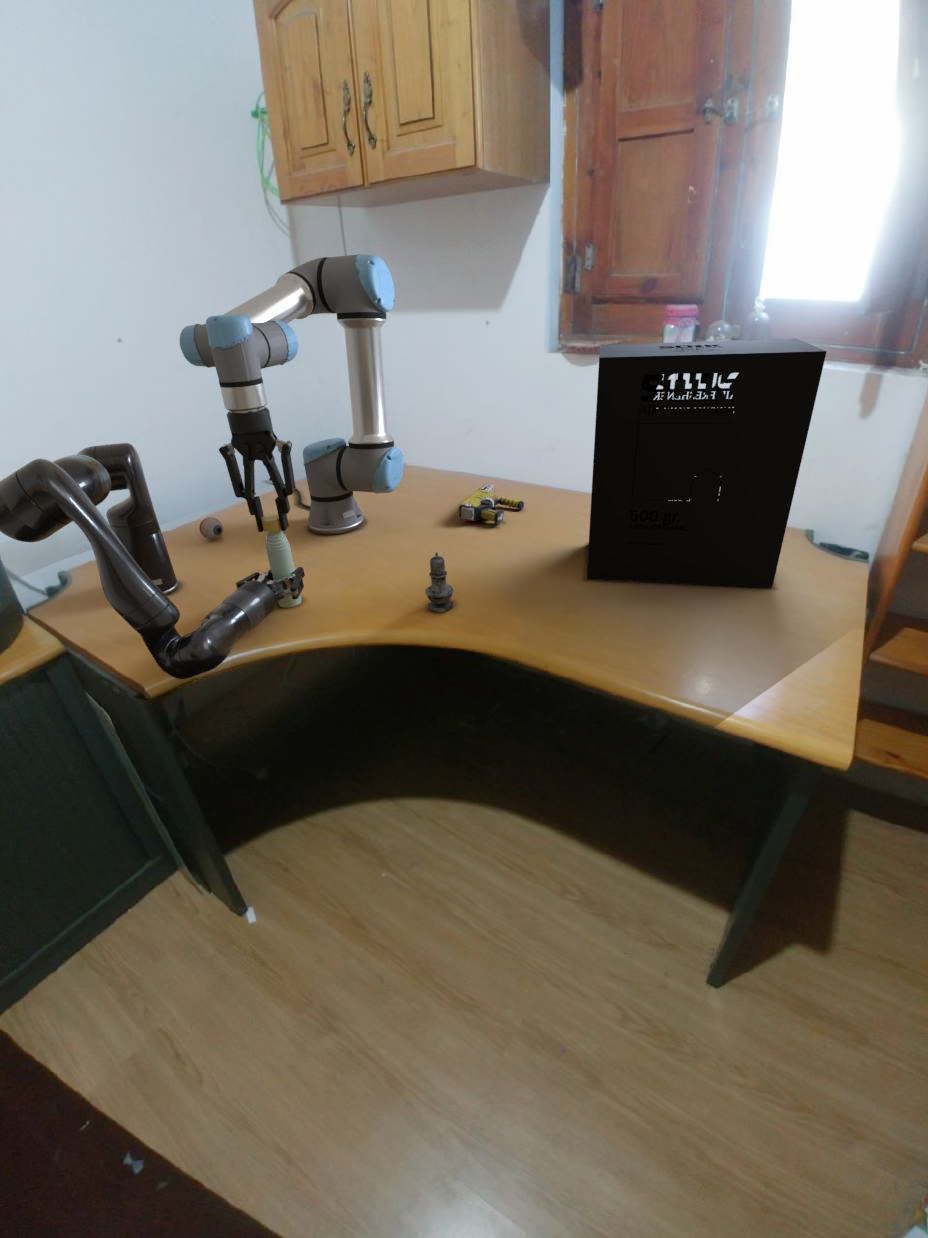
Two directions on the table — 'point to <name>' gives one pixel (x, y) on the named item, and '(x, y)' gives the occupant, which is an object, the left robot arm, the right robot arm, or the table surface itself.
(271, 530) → the cap
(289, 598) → the bottle
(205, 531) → the eyeball
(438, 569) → the grey chess piece
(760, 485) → the cardboard box
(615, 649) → the table surface
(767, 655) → the table surface
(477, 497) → the toy gun
